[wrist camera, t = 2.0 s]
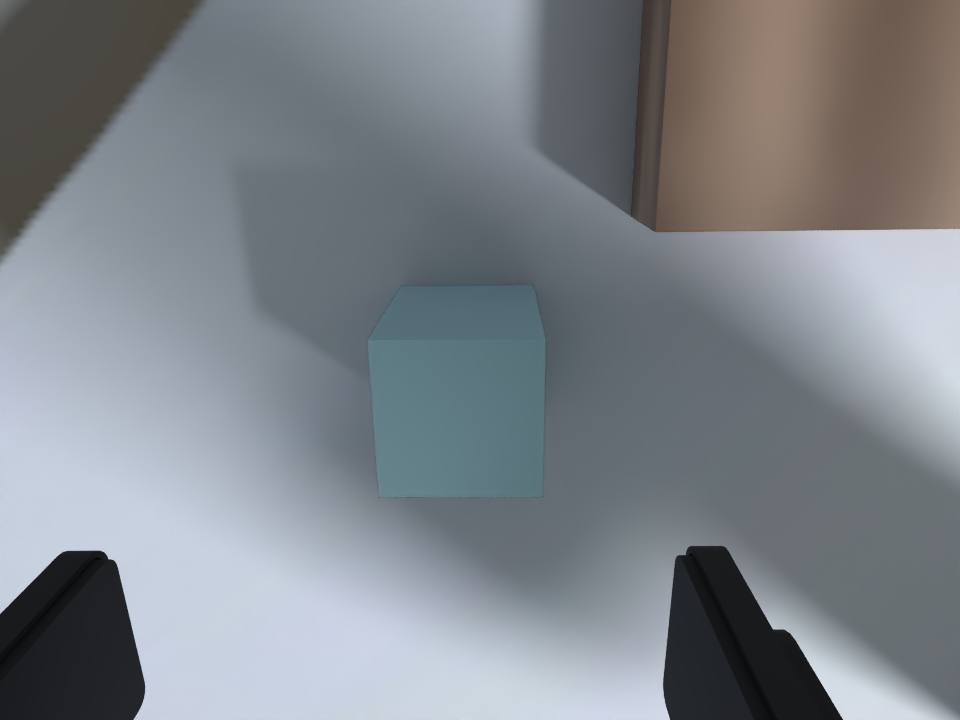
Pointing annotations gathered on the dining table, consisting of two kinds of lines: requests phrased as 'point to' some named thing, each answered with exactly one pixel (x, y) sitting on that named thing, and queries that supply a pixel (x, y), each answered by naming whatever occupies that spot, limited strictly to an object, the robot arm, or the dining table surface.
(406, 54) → the dining table surface
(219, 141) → the dining table surface
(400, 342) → the teal block
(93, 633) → the robot arm
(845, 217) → the walnut plinth
